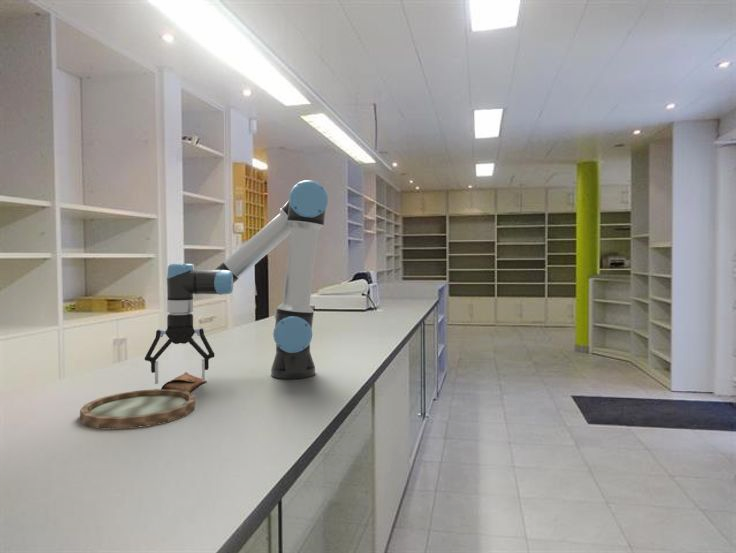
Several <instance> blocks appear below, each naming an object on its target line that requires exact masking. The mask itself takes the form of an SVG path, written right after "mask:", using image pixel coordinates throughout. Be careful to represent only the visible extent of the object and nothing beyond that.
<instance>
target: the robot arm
mask: <svg viewBox="0 0 736 553" xmlns="http://www.w3.org/2000/svg"><path fill="white" fill-rule="evenodd" d="M328 203H329V196H328V193H327V191H326V189H325V188H324V186H322V185H321V184H320V183H319V182H318V181H315V180H309V179H306V180H302V181H301V180H300V181H299V182H298V183H296V184H295V185H294V186H292V188H291V190H290V191H289V195H288V200H287V202H286V203H285V204H284V205H283V206H282V207H281V208H280V209H279V214H278V215H275V217H274V218H273V219H272V220H270V221H269V222H268V223H267V224H265V226H264V227H262V228H261V229H260V230H259V231H258V232H256V234H254V235H253V236H252V237H251V238H250V239H248V241H246V242H245V243H244V244H243V245H242V246H241V247H239V248H237V250H236V251H235V252H233V254H231V255H230V256H229V257H227V259H226V260H224V261H223V262H222V263H221V264H220V265H218V266H217V267H216V268H215V269H212V270H211V269H210V270H209V269H207V270H205V269H203V270H201V269H200V270H197V269H194V265H193V264H192V263H170V264H169V265H168V266H167V275H166V276H167V278H166V286H167V287H166V288H167V299H166V303H167V304H166V305H167V306H166V310H167V313H168V314H167V317H166V319H167V320H166V322H167V324H166V325H167V326H166V327H167V328H166V330H164V329H160V328H158V329H157V330H156V332H155V338H154V339H153V341H152V343H151V345H150V347H149V349H148V350H147V353H146V355H145V357H144V360H145V362H150V372H151V373H152V374H153V373H154V384H155V385H158V384H159V378H160V377H159V376H160V374H159V372H160V371H159V370H160V369H159V368H160V367H159V365H160V364H159V360H158V359H159V358H160V356H161V355H162V354H163V353H164V352H165V351H166V350H167V348H168V347H170V345H171V344H172V343H173V344H174V345H178V344H182V345H184V344H185V345H186V344H187V343H189V344H190V345H191V346H192V347H193V349H195V350H196V352H197V353H198V354H199V355H200V356H201V357H202V359H201V379H202V381H206V380H205V379H206V376H205V375H206V371H207V370H208V371H209V367H210V366H209V364H210V363H209V361H210V359H213V358H215V352H214V351H213V348H212V347H211V344H210V342H208V339H207V337H206V336H205V330H204V328H203V327H200V328H197V329H196V328H195V327H194V314H193V312H194V295H220V296H222V295H230V294H232V293H233V290H234V284H235V282H237V281H238V280H239V279H240V278H242V276H244V274H246V273H247V272H248V271H250V270H251V268H253V267H254V266H255V265H256V264H258V263H259V262H260V261H261V260H262V259H263V258H264V257H265V256H267V255H268V254H269V253H270V252H272V250H274V248H276V247H277V246H278V245H279V244H280V243H282V242H283V241H284V240H285V239H286V238H288V236H289V235H290V237H289V246H288V253H287V261H286V263H287V264H286V270H285V272H286V273H285V278H284V279H285V280H284V288H283V297H282V303H280V304H279V305H278V306H277V307H276V310H275V315H274V318H275V323H274V328H273V332H272V334H273V340H274V343H275V355H274V359H273V362H272V366H271V369H270V371H271V372H270V375H271V377H273V378H274V379H275V378H276V379H281V380H282V379H283V380H292V379H293V380H297V379H304V378H305V379H306V378H309V377H313V376H314V375H315V374H316V366H315V363H314V360H313V356H312V354H311V341H312V338H313V330H312V329H313V322H314V314H315V313H314V309H313V308H312V307H311V298H312V288H313V280H314V272H315V261H316V254H317V245H318V237H319V231H320V230H321V229H323V228H324V225H325V216H326V210H327V209H326V208H327V206H328ZM194 328H195V329H194ZM195 334H196V335H197V336H199V337H200V340H201V341H202V343H203V345H204V346H205V349H206V350H207V353H206V352H205V350H204V349H203V348H202V347H201V346H200V345H199V344H198V343H197V342H196V341H195V339H194V338H193V336H194V335H195ZM164 335H166V337H167V338H168V339H167V340H166V342H165V343H164V344H163V345H162V346H161V348H160V349H159V350H158V351H157V352H156V353H155V354H154V355H153V356H152V354H153V352H154V351H155V348H156V346H157V345H158V342H159V341H160V340H161V338H163V337H164Z"/></svg>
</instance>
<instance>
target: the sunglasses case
mask: <svg viewBox="0 0 736 553" xmlns="http://www.w3.org/2000/svg"><path fill="white" fill-rule="evenodd" d="M205 382H206V383H208V381H207V380H205V381H202V378H200V377H197V376H194V375H192V374H190V373H188V372H187V371H185V372H184V373H183V374H181V375H179V376H176V377H174V379H172V380H169V381H166V383H164V384H163V385H162V386H161V388H160V389H171V390H180V391H187V392H189V393H191V394H192V393H193V392H194V391H195V390H197V389H199V386H200V385H201V386H203V385H204V384H206V383H205ZM202 384H203V385H202ZM201 386H200V387H201ZM196 388H197V389H196ZM192 391H193V392H192Z"/></svg>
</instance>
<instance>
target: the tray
mask: <svg viewBox="0 0 736 553" xmlns="http://www.w3.org/2000/svg"><path fill="white" fill-rule="evenodd" d="M195 407H196V395H195V394H193V393H192V392H191V393H189V392H187V391H180V390H171V389H161V388H156V389H155V388H154V389H153V388H152V389H143V390H133V391H127V392H121V393H115V394H110V395H107V396H104V397H99V398H97V399H94V400H91V401H90V402H87V403H85V404H84V405H83V406H82V407H81V408H80V410H79V420H80V422H81V423H82V424H83V425H84V427H90V428H94V429H95V428H96V429H98V428H100V430H101V428H106V429H105V430H108V429H107V428H110V429H109V430H122V429H121V428H128V429H131V428H130V427H138V428H140V427H139V426H147V427H149V426H148V425H152V426H155V425H154V424H157V425H160V424H159V423H162V424H164V423H163V422H167V423H169V422H168V421H170V422H172V421H171V420H173V421H175V420H174V419H176V420H178V419H177V418H179V419H181V418H180V417H182V418H184V417H186V416H188V415H190V414H191V413H193V410H194V411H195ZM190 412H191V413H190ZM187 414H188V415H187ZM183 416H184V417H183ZM112 428H113V429H112Z"/></svg>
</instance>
